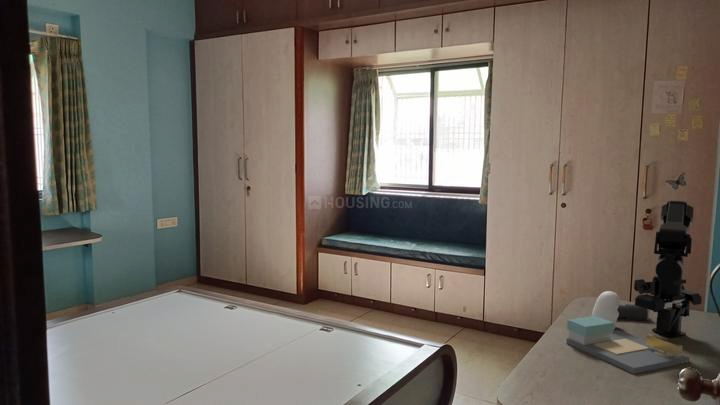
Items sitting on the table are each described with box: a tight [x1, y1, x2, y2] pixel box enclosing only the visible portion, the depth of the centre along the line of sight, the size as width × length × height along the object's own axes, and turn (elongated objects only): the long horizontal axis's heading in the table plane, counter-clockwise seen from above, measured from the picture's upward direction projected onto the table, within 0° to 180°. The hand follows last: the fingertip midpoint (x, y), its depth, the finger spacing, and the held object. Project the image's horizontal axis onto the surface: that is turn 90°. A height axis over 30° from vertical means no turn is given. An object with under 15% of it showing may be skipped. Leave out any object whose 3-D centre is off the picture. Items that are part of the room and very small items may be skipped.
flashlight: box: [617, 303, 650, 321], centre depth 166 cm, size 15×5×5 cm, turn 78°
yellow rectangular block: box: [646, 333, 683, 357], centre depth 133 cm, size 2×9×4 cm, turn 22°
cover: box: [566, 315, 615, 337], centre depth 143 cm, size 10×7×3 cm, turn 112°
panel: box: [565, 329, 690, 375], centre depth 138 cm, size 20×22×4 cm
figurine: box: [591, 290, 621, 330], centre depth 157 cm, size 7×8×12 cm
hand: (666, 330), depth 138 cm, fingers closed
